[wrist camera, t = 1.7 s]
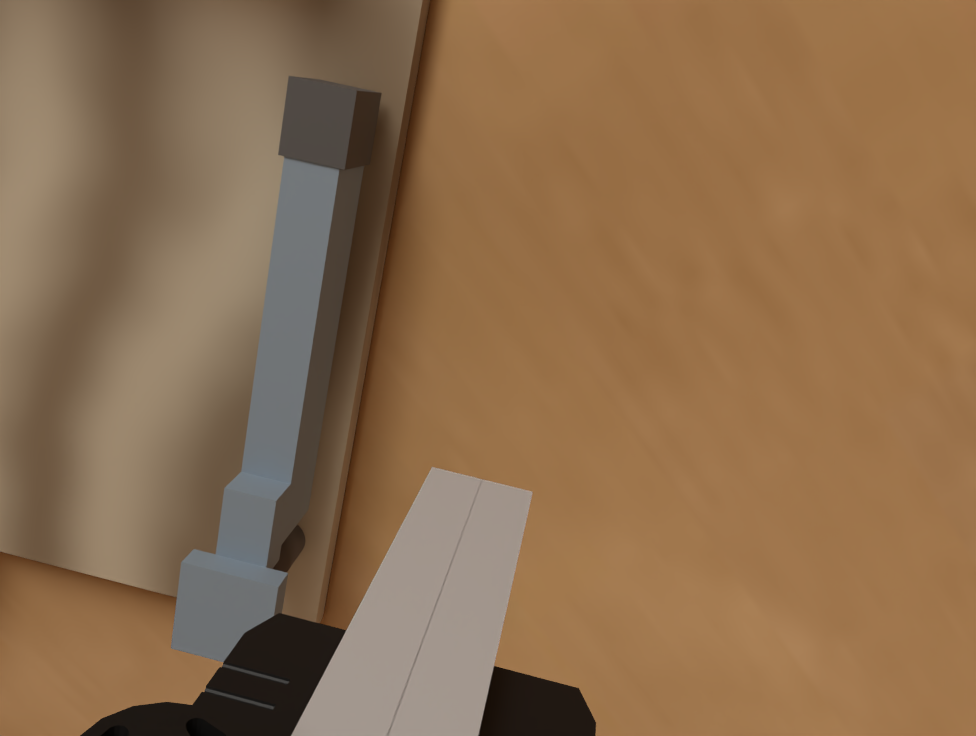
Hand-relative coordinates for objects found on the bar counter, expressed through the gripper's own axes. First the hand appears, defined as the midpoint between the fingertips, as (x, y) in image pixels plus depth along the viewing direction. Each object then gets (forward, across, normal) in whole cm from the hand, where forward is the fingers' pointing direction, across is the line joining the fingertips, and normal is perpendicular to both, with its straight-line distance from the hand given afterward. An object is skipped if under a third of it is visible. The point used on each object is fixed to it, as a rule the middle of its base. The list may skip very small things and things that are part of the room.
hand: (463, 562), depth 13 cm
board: (+15, -14, 0) cm, 21 cm away
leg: (+14, -7, -2) cm, 16 cm away
